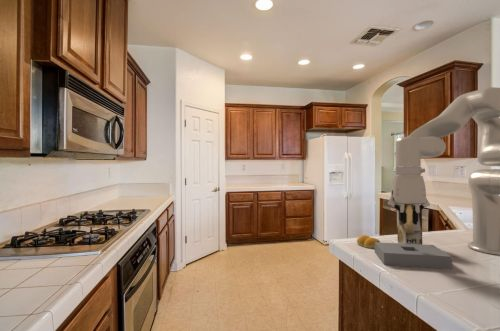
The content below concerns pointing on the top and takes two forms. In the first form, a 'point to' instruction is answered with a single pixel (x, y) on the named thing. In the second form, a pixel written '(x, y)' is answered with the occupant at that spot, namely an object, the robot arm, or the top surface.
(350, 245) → the top surface
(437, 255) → the hole block
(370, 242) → the bread roll
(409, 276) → the top surface
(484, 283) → the top surface
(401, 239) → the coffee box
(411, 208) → the brass peg
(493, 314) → the top surface
